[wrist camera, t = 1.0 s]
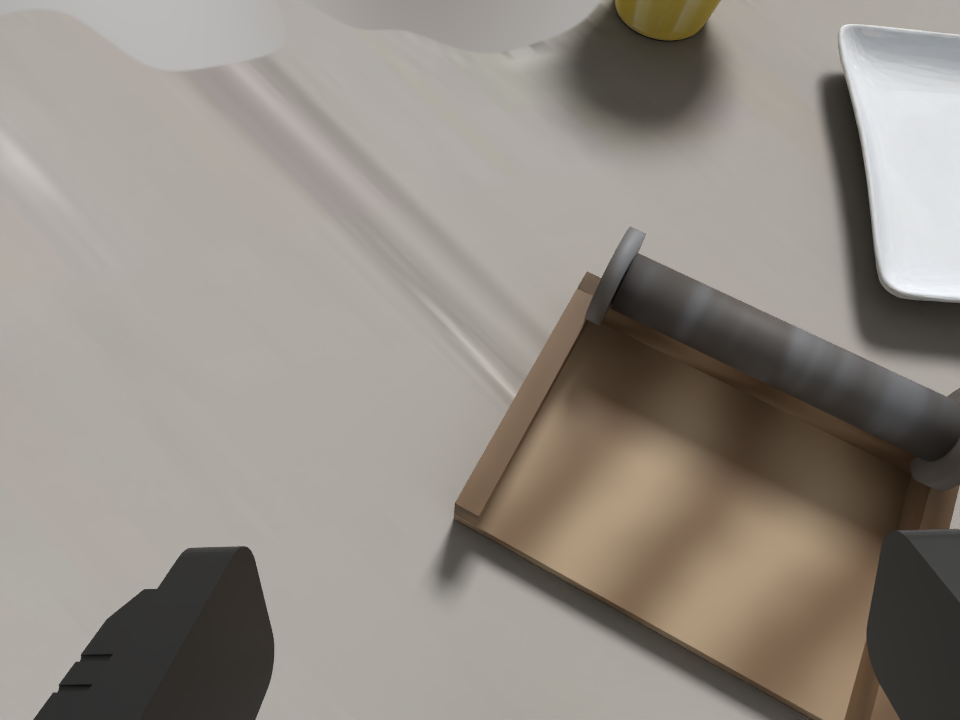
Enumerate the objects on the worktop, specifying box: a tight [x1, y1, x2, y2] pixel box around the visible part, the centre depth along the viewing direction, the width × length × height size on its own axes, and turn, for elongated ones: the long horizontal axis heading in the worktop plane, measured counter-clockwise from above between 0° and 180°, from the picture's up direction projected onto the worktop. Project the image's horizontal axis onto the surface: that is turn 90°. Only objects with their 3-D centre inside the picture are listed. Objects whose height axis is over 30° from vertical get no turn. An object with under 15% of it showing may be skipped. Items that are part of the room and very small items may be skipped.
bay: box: [454, 227, 960, 720], centre depth 32 cm, size 20×16×7 cm
